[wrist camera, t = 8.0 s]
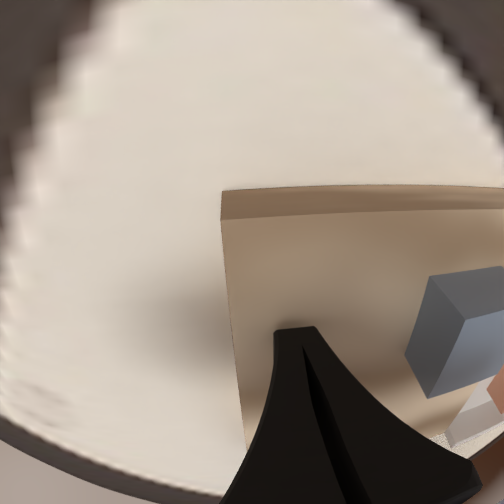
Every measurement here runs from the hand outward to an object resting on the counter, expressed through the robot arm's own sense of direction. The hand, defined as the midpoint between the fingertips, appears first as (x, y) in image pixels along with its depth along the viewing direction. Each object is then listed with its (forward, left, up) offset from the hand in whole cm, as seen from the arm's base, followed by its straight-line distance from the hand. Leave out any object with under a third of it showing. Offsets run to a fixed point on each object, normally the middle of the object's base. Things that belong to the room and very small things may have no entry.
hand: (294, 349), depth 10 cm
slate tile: (0, -7, -1) cm, 7 cm away
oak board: (-4, -5, -3) cm, 7 cm away
